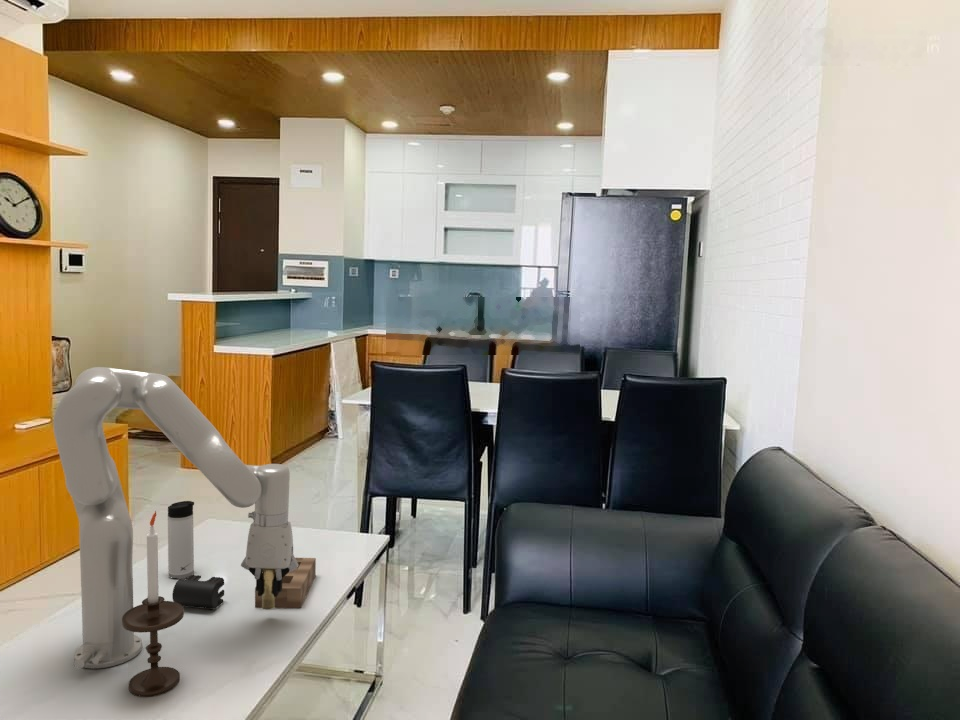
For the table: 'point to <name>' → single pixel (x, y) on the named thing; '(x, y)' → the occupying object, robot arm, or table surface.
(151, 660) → the candlestick
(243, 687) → the table surface
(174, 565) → the travel mug
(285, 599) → the hole block
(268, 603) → the brass peg
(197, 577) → the end cap
